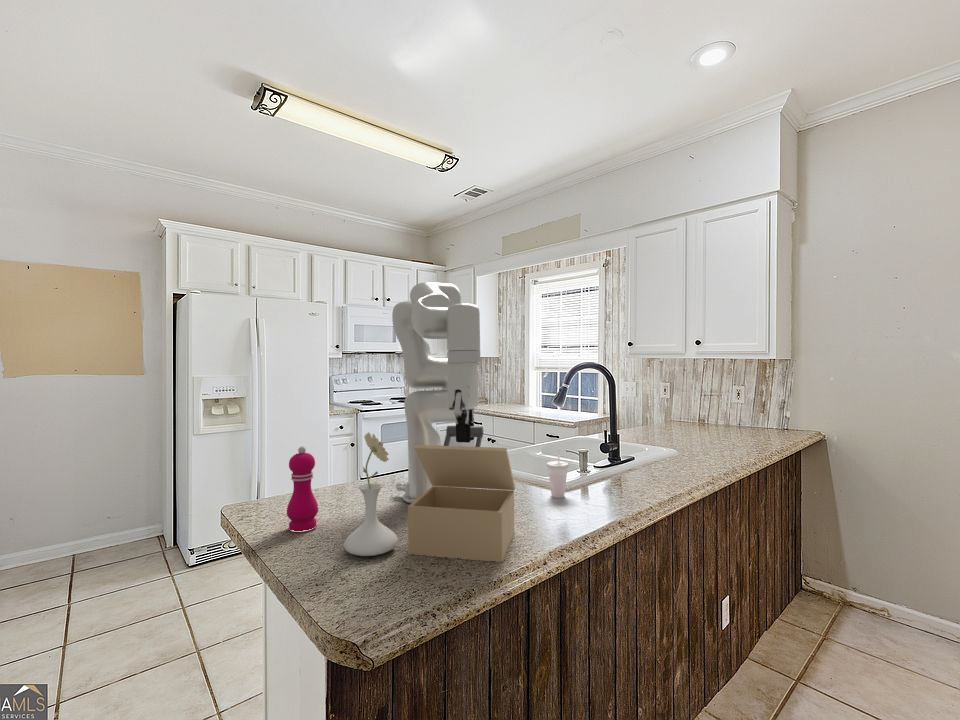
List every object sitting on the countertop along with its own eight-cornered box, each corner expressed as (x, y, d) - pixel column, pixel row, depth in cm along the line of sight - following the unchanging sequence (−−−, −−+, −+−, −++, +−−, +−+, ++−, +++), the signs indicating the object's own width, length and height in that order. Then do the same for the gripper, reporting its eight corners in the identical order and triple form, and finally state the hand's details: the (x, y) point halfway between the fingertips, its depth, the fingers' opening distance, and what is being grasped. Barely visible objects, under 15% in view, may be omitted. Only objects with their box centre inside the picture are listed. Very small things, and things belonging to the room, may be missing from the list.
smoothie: (573, 495, 139) (572, 448, 139) (561, 500, 135) (560, 451, 135) (555, 491, 144) (554, 445, 144) (542, 496, 139) (542, 449, 139)
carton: (408, 554, 99) (407, 506, 99) (433, 527, 114) (432, 486, 114) (502, 562, 94) (501, 512, 94) (514, 533, 110) (514, 490, 110)
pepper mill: (288, 536, 110) (287, 450, 110) (285, 526, 116) (284, 445, 116) (320, 530, 113) (319, 447, 113) (316, 521, 119) (315, 442, 119)
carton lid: (414, 447, 103) (421, 422, 108) (431, 485, 114) (438, 461, 119) (505, 451, 98) (509, 424, 103) (514, 490, 110) (517, 464, 114)
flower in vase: (401, 557, 97) (400, 436, 97) (343, 565, 94) (342, 440, 94) (394, 535, 110) (393, 428, 109) (343, 540, 106) (342, 430, 106)
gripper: (458, 360, 115) (459, 435, 114) (436, 359, 99) (437, 446, 99) (487, 359, 113) (489, 436, 113) (470, 358, 97) (472, 447, 97)
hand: (465, 440), depth 106 cm, fingers closed on carton lid, 2 cm apart
